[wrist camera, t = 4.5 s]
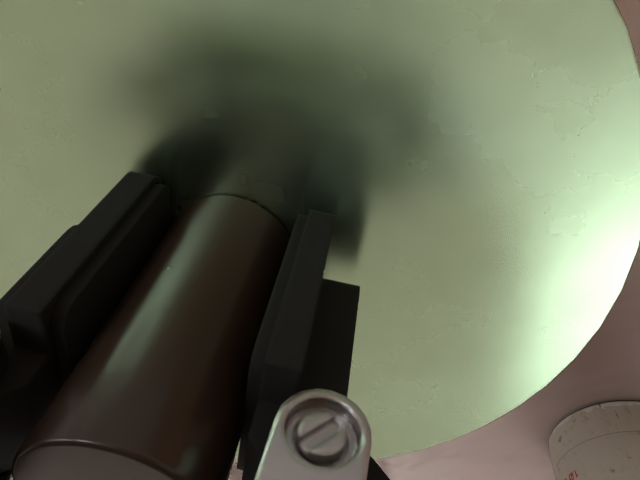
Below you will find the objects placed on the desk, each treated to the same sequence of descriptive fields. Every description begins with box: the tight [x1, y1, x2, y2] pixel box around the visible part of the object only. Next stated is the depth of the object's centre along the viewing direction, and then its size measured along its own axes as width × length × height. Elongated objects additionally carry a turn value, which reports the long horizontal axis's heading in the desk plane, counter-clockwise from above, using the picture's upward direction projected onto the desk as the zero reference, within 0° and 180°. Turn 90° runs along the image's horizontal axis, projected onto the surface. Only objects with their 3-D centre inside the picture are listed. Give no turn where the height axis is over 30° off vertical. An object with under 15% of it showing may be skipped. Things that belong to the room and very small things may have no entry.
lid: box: [0, 0, 640, 480], centre depth 9 cm, size 16×16×7 cm
